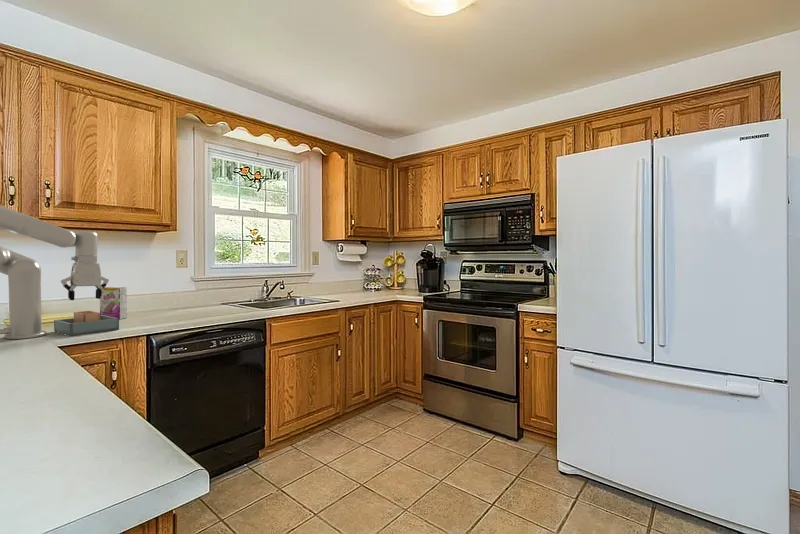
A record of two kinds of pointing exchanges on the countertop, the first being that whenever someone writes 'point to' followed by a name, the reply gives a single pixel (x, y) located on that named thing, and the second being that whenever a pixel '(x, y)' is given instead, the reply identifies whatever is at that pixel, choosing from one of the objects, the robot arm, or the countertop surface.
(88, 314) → the box
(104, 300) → the candy bar box
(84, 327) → the dark grey tray
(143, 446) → the countertop surface
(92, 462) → the countertop surface
